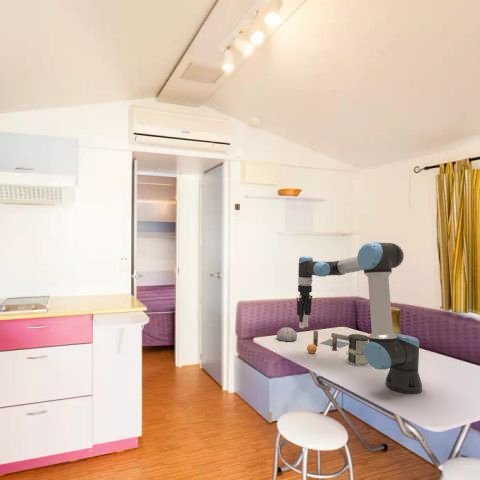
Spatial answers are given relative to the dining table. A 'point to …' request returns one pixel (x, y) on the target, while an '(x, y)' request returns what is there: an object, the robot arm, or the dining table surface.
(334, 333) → the wall
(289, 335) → the sea urchin shell
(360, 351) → the coffee can
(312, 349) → the ball
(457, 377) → the dining table surface
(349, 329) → the dining table surface
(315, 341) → the left post
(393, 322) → the pitcher
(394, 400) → the dining table surface
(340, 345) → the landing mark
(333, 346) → the right post
